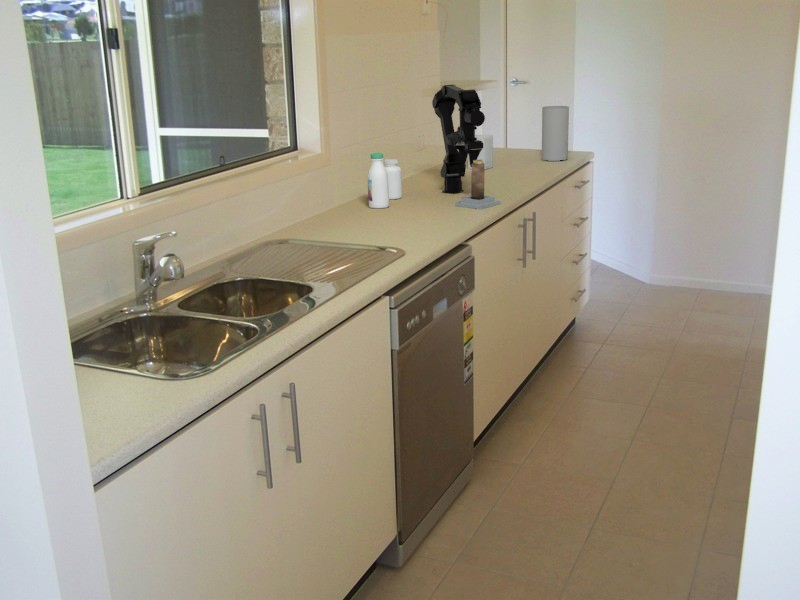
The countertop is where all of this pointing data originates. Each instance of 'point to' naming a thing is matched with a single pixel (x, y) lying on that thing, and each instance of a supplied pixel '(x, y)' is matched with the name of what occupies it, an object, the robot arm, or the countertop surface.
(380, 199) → the milk bottle
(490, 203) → the seat dish
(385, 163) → the pill bottle
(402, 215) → the countertop surface
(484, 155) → the supplement box
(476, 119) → the robot arm
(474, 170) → the pepper mill
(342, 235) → the countertop surface
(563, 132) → the cylinder vase
